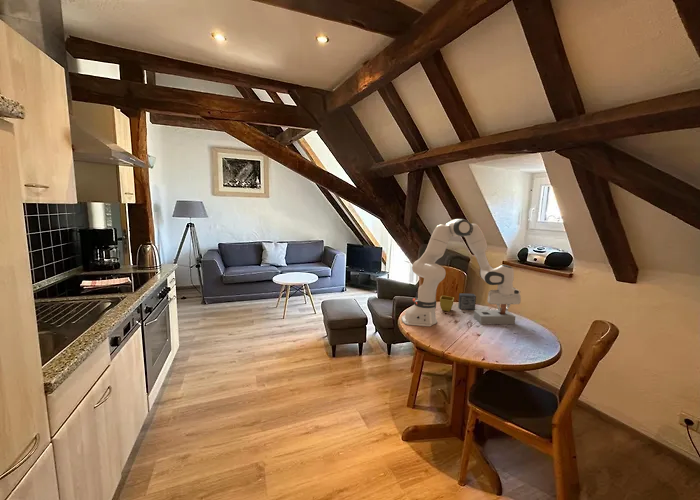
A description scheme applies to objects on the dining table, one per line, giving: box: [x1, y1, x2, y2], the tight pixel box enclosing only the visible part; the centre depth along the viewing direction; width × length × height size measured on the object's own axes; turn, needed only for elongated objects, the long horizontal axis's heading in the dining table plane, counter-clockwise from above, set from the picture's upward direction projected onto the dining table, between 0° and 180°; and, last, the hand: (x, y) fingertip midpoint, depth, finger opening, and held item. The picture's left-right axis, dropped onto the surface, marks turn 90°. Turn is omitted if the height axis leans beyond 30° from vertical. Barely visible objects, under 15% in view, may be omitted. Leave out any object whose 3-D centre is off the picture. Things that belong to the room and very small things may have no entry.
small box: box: [458, 292, 477, 311], centre depth 227 cm, size 11×6×10 cm, turn 84°
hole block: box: [473, 309, 516, 325], centre depth 205 cm, size 22×11×5 cm, turn 91°
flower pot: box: [439, 295, 455, 312], centre depth 223 cm, size 9×9×9 cm
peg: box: [500, 304, 507, 315], centre depth 204 cm, size 3×3×10 cm
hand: (502, 310), depth 205 cm, fingers closed on peg, 3 cm apart
